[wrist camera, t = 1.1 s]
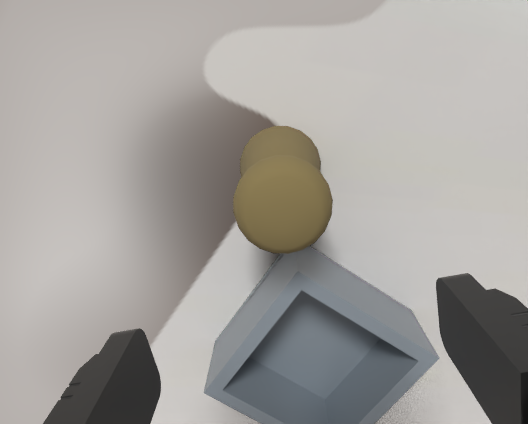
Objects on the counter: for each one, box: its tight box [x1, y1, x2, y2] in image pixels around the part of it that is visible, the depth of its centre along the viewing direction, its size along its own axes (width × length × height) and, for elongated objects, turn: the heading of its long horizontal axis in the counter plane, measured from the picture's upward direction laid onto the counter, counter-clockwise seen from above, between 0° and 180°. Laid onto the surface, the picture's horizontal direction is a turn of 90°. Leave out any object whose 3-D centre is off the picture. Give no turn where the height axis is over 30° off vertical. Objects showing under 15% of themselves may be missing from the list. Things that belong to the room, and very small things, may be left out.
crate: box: [204, 246, 439, 424], centre depth 31 cm, size 12×12×6 cm
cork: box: [233, 126, 333, 254], centre depth 25 cm, size 6×6×11 cm
